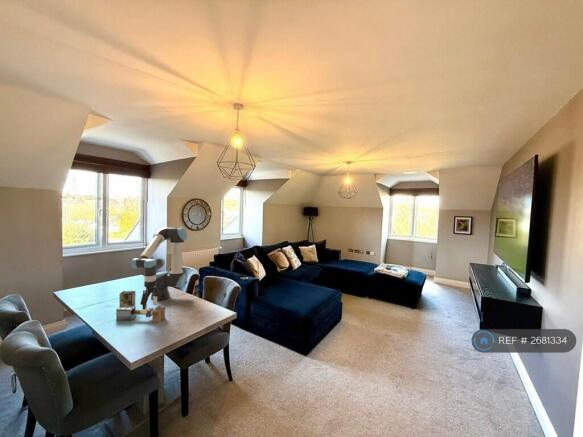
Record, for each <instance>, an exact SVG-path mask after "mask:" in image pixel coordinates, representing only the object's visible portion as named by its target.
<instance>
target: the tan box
mask: <svg viewBox="0 0 583 437" xmlns="http://www.w3.org/2000/svg"><path fill="white" fill-rule="evenodd" d="M151 317H152V318H151V319H152V323H153V324H154V323H155V324H156V323H157V324H160V323H161V322H162V321H163V320H164V319H165V317H166V306H165V305H158V306H157V307H155V308H153V314H152V316H151Z"/></svg>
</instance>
